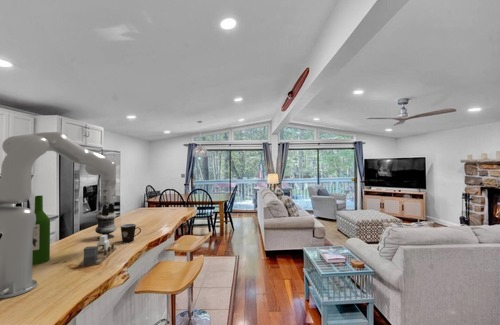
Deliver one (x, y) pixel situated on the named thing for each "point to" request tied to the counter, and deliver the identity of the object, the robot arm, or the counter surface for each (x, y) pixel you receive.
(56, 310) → the counter surface
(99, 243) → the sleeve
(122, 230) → the coffee mug
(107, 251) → the pegged board
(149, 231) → the counter surface
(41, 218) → the wine bottle
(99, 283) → the counter surface
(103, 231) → the apothecary jar
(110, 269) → the counter surface
